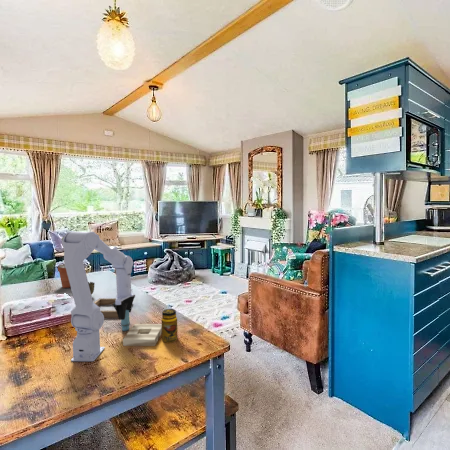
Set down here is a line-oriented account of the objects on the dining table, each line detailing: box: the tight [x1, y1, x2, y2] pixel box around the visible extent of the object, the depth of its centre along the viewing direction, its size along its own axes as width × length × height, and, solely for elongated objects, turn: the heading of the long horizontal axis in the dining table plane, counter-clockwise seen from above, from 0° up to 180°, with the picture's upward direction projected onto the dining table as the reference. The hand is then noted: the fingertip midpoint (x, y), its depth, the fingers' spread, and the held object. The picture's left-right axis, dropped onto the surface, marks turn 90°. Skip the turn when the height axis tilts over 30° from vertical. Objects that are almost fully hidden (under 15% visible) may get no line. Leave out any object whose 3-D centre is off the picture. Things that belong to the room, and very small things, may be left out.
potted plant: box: [57, 236, 71, 289], centre depth 195 cm, size 16×15×35 cm
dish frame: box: [93, 297, 134, 319], centre depth 152 cm, size 18×17×3 cm
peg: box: [120, 310, 131, 332], centre depth 130 cm, size 4×4×8 cm
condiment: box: [161, 308, 179, 344], centre depth 121 cm, size 7×8×12 cm
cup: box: [88, 281, 96, 296], centre depth 172 cm, size 8×7×8 cm
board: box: [122, 323, 162, 347], centre depth 123 cm, size 14×12×2 cm
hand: (125, 315), depth 129 cm, fingers open, 7 cm apart
